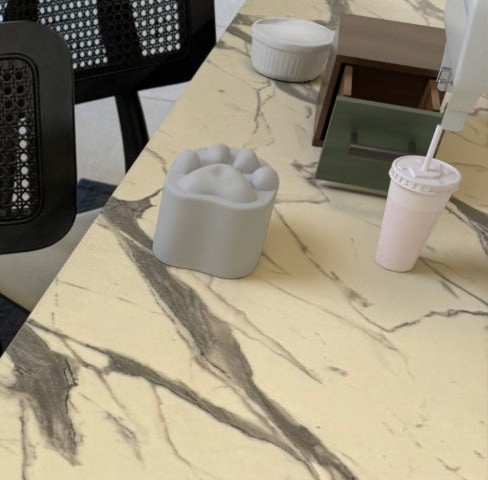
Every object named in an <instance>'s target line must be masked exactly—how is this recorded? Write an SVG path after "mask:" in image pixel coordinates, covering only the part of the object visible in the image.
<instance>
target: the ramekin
mask: <svg viewBox="0 0 488 480" xmlns="http://www.w3.org/2000/svg"><path fill="white" fill-rule="evenodd" d="M251 35H252V37H251V49H250V62H251V65H252V67H253V70H255V71H256V72H257V73H259V74H260V75H262V76H265V77H268V78H271V79H274V80H278V81H283V82H290V83H304V81H305V82H309V80H310V81H312V80H315V79H316V78H317V77H318V76H320V75H321V74H322V73H323V71H324V70H325V67H326V64H327V60H328V57H329V53H330V49H331V46H332V42H333V38H334V35H335V31H333V30H331V29H330V28H328V27H327V26H324V25H322V24H319V23H316V22H313V21H309V20H304V19H300V18H294V17H293V18H292V17H280V16H279V17H278V16H277V17H265V18H261V19H260V18H259V19H257V20H256V21H255V22H254V23H253V24H252V28H251Z"/></svg>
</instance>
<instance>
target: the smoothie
mask: <svg viewBox="0 0 488 480" xmlns="http://www.w3.org/2000/svg"><path fill="white" fill-rule="evenodd" d="M442 130H443V128H442V125H437V128H436V131H435V133H434V136H433V139H432V142H431V145H430V147H429V150H428V153H427V156H426V157H425V156H403V157H400V158H397V159H396V160H394V161H393V163H392V167H391V169H390V171H389V175H390V177H391V182H390V186H389V191H388V192H387V198H386V202H385V207H384V212H383V217H382V222H381V227H380V232H379V236H378V237H379V238H378V242H377V247H376V253H375V257H374V261H375V262H376V264H378V265H379V266H380V267H382V268H383V269H386V270H389V271H392V272H396V273H399V272H400V273H404V272H405V273H407V272H409V271H411V270H413V268H414V266H415V265H416V263H417V260H418V259H419V257H420V255H421V254H422V251H423V250H424V247H425V246H426V244H427V242H428V240H429V238H430V237H431V234H432V232H433V231H434V229H435V227H436V225H437V223H438V221H439V219H440V217H441V215H442V214H443V212H444V210H445V208H446V206H447V205H448V203H449V201H450V199H451V196H452V195H453V194H454V193H456V192H458V190H459V189H460V184H461V182H462V179H463V176H462V175H461V172H460V171H459V170H458V169H457V168H456V167H454V166H453V165H451V164H450V163H447V162H445V161H443V160H441V159H437V158H435V159H434V158H433V155H434V152H435V149H436V147H437V144H438V141H439V138H440V135H441V133H442Z"/></svg>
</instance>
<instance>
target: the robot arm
mask: <svg viewBox="0 0 488 480" xmlns="http://www.w3.org/2000/svg"><path fill="white" fill-rule="evenodd" d="M444 5H445V6H444V9H443V14H442V19H443V27H444V29H445V33H446V39H447V42H446V46H445V51H444V56H443V61H442V66H441V69H440V71H439V74H438V77H437V80H436V82H437V87H438V89H439V90H440V91H446V93H451V95H450V96H449V99H448V102H445V106H444V109H443V112H442V113H443V114H442V117H441V125H442V128H443V129H444V130H445V131H449V132H455V133H459V132H461V131H463V129H464V127H465V126H466V122H467V119H468V117H469V114H470V113H471V112H472V110H473V109H474V107H475V105H477V102H478V101H479V99H480V97H481V96H482V95H487V96H488V0H446V2H445V4H444Z"/></svg>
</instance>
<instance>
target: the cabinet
mask: <svg viewBox="0 0 488 480" xmlns="http://www.w3.org/2000/svg"><path fill="white" fill-rule="evenodd" d="M334 33H335V35H334V38H333V42H332V46H331V49H330V53H329V57H328V59H327V62H326V64H325V67H324V72H323V76H322V79H321V83H320V86H319V90H318V94H317V97H316V98H317V99H316V105H315V106H316V107H315V114H314V123H313V132H312V139H311V146H313V147H314V146H315V147H320V148H322V147H323V144H324V140H325V137H326V127H327V123H328V120H329V116H330V113H331V109H332V106H333V102H334V99H335V95H336V92H337V88H338V84H339V81H340V77H341V74H342V70H343V67H344V63H350V64H356V65H362V66H368V67H374V68H380V69H386V70H393V71H399V72H405V73H411V74H417V75H423V76H430V77H436V78H437V77H438V74H439V71H440V69H441V66H442V61H443V56H444V51H445V46H446V42H447V39H446V33H445V27H444V28H443V27H437V26H431V25H424V24H417V23H411V22H406V21H405V22H404V21H399V20H393V19H392V20H391V19H385V18H379V17H372V16H367V15H360V14H354V13H346V12H340V13H339V16H338V21H337V24H336V27H335V31H334ZM438 92H439V101H440V109H441V108H442V105H443V102H444V99H445V96H446V93H447V91H440V90H439V89H438Z"/></svg>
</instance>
